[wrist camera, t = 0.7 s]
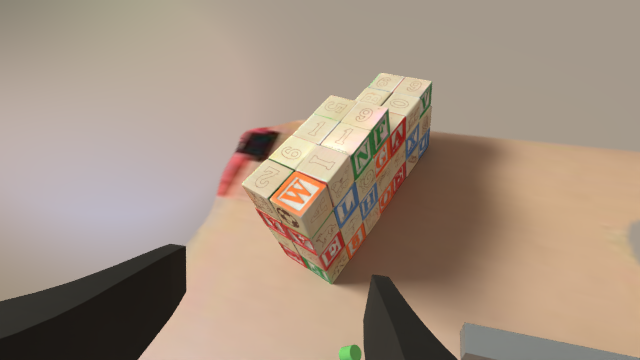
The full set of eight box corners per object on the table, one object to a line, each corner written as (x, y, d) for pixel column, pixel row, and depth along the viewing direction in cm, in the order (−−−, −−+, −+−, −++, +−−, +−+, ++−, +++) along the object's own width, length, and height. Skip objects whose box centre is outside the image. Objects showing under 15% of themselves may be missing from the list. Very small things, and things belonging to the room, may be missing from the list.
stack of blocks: (385, 132, 41) (379, 45, 32) (429, 146, 38) (437, 52, 29) (285, 256, 32) (238, 182, 23) (332, 287, 29) (298, 216, 20)
